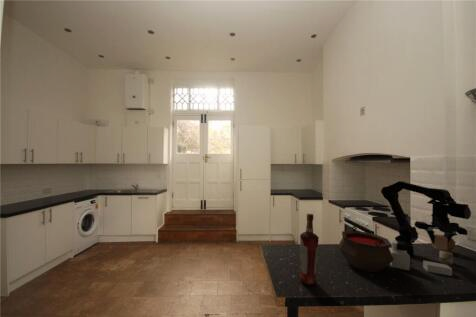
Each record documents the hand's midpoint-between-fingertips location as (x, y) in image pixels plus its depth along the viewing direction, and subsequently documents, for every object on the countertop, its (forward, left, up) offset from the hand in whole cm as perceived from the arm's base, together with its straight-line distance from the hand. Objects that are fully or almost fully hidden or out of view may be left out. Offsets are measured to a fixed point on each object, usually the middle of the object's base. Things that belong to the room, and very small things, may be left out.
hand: (439, 244), depth 106 cm
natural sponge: (+12, +26, -11) cm, 31 cm away
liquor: (-59, -47, -11) cm, 76 cm away
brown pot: (-35, -18, -11) cm, 41 cm away
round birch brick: (+6, +8, -11) cm, 15 cm away
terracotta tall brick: (0, 0, -2) cm, 2 cm away
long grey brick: (-3, -7, -11) cm, 14 cm away
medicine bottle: (-19, -10, -11) cm, 24 cm away
